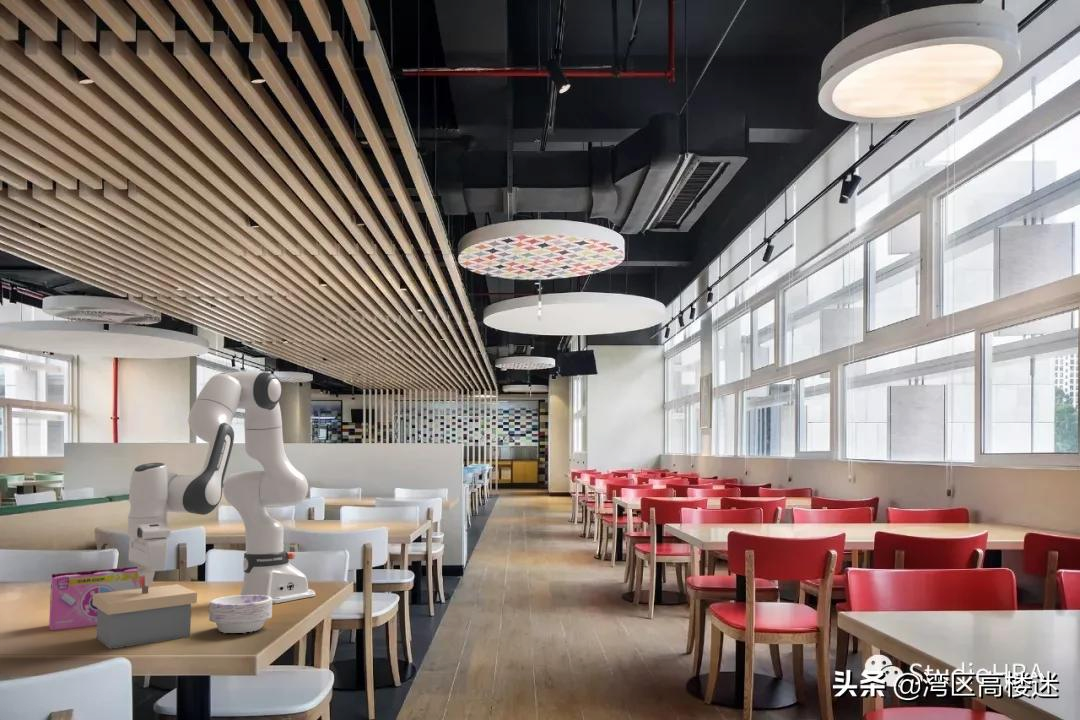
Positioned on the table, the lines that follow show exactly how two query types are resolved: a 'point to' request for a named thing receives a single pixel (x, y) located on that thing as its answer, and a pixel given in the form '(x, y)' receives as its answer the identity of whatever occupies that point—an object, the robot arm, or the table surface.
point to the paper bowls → (240, 612)
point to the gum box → (85, 594)
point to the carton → (143, 626)
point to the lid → (143, 598)
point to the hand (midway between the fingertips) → (145, 584)
